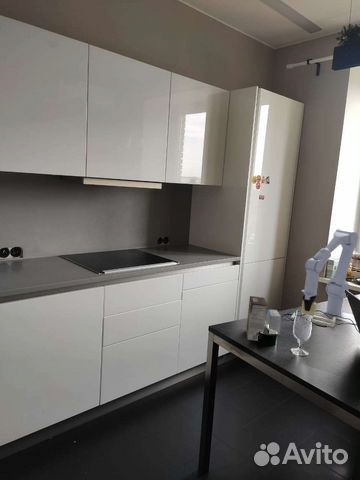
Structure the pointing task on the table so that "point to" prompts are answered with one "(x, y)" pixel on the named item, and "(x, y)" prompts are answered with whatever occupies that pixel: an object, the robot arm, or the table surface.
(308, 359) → the table surface
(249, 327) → the coffee box
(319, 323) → the dispenser
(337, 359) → the table surface
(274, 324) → the medicine box
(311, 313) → the tan rectangular block
